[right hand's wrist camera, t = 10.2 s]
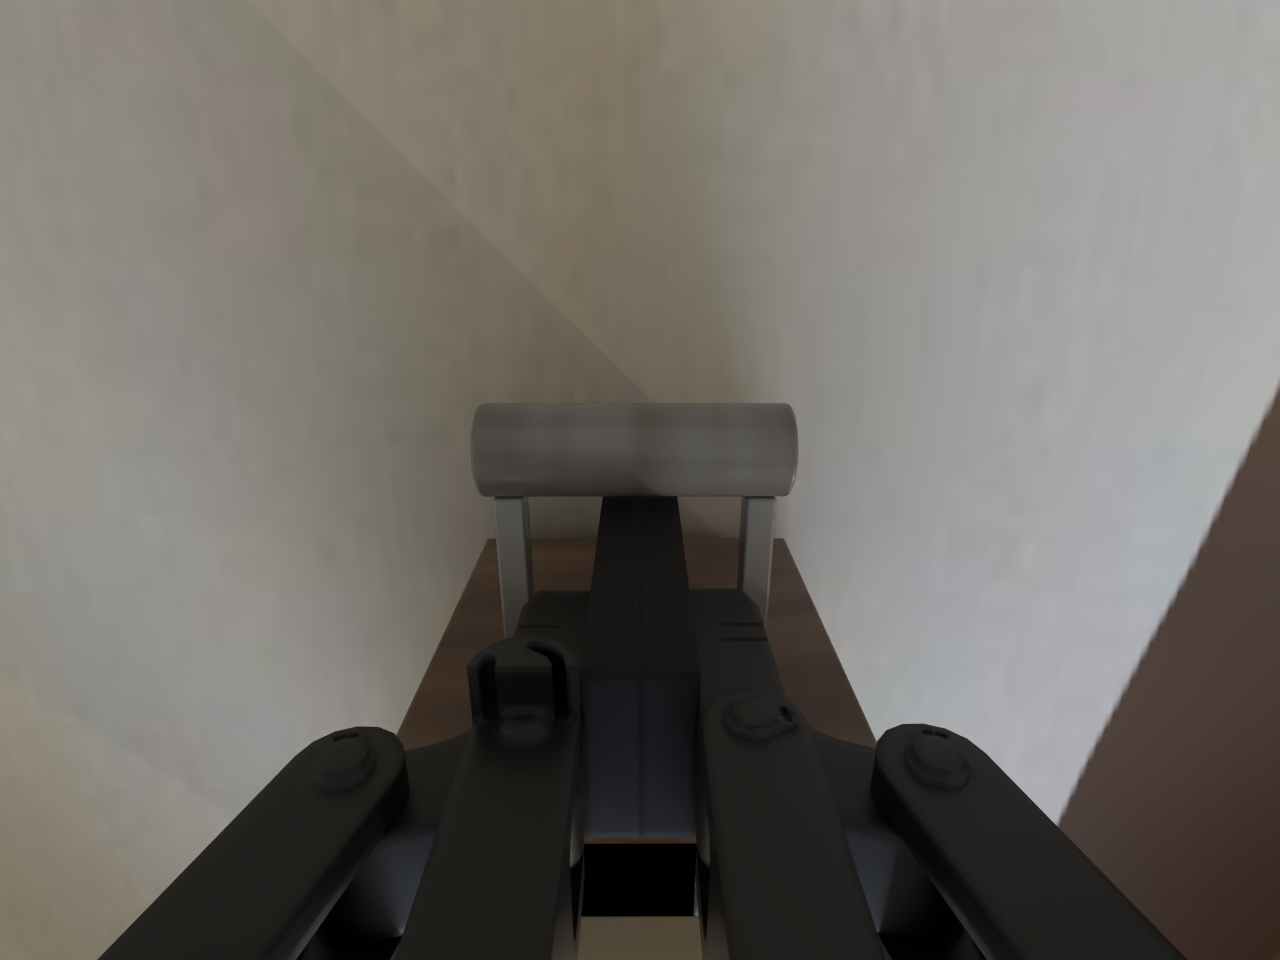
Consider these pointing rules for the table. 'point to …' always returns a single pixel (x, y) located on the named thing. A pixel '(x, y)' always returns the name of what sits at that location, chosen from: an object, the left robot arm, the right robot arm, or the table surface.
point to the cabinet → (640, 938)
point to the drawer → (520, 566)
